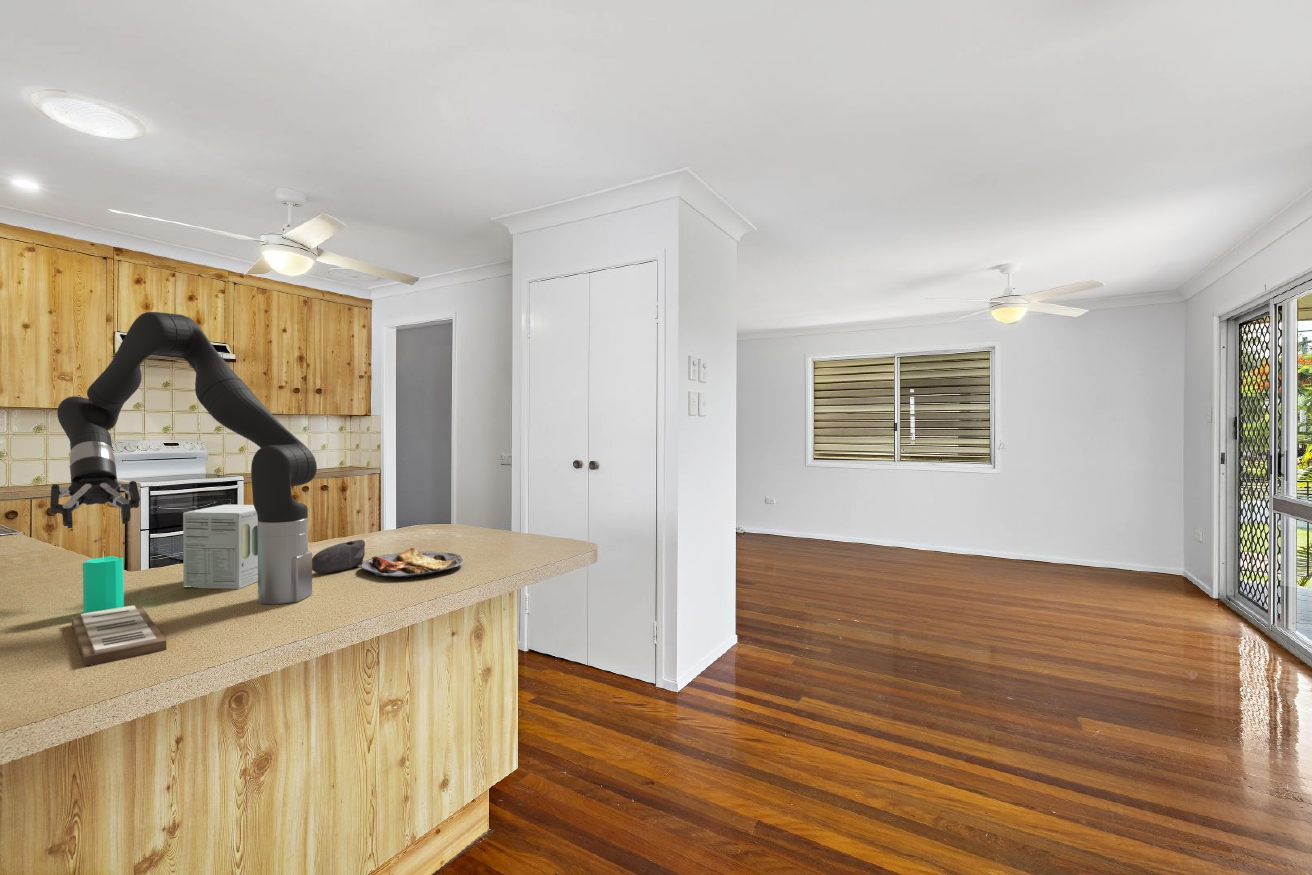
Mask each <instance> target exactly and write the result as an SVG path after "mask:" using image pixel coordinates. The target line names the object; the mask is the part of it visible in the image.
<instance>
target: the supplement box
mask: <svg viewBox="0 0 1312 875" xmlns="http://www.w3.org/2000/svg"><path fill="white" fill-rule="evenodd" d="M182 517H183V518H182V521H183V522H182V528H183V529H182V546H183V547H182V548H183V551H182V552H183V556H182V557H183V562H182V563H183V571H182V572H183V581H182V583H183V587H184V586H191V587H200V588H199V589H218V590H219V589H220V590H221V589H226V590H239V589H243V588H244V587H247V586H250V585H252V584H255V583H258V517H257V512H256V510H255V508H254V504H222V505H221V504H220V505H216V506H211V507H203V508H200V509H195V510H189V511H185V512H183V513H182Z"/></svg>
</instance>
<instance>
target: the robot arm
mask: <svg viewBox="0 0 1312 875" xmlns="http://www.w3.org/2000/svg"><path fill="white" fill-rule="evenodd" d="M154 354H155V355H170V356H171V355H173V356H179V357H181V358H182V359H184V360H185V361H186V362H187V363H188V364H189V365H190V366H191V368H192V369H193V371H194V372H195V383H194V384H195V389H194V392H195V395H196V398H197V399H198V402H199V403H200V404H201V405H202V406H203V408H204V409H205V410H206V411H207V412H208V413H209V414H210V416H211V417H212V418H213V419H214V420H216V422H218V423H219V424H220V425H222V426H224V427H225V428H226V429H228V430H230V431H232V432H234V433H235V434H237V435H239V436H241V437H243V438H245V439H247V440H249V441H251V442H252V443H253V444H255V445H257V446H258V447H259V449H257V450H256V452H255V453H254V455H253V458H252V460H251V466H250V467H251V468H250V469H251V470H250V474H251V475H250V477H251V478H250V479H251V489H252V490H251V492H252V503H253V504H252V505H254V508H255V510H256V512H257V517H258V582H257V598H258V599H257V602H258V603H259V604H263V605H281V604H288V603H298V602H300V601H302V600H304V599H306V598H308V597H310V596H311V595H312V594H313V570H312V558H313V551H309V548H308V546H309V543H308V541H309V537H308V536H309V534H308V533H309V532H308V530H309V528H308V526H309V525H308V524H309V523H308V520H309V517H308V516H309V514H308V506H307V505H306V504H305V503H302V502H299V501H297V500H295V499H294V498H293V494H292V487H297V486H302V485H306V484H308V483H310V482H311V481H312V480H314V478H315V477H316V474H317V472H318V471H317V470H318V466H317V461H316V458H315V455H314V454H313V453H312V451H311V450H310V449H309V448H308V447H307V446H306V444H304V443H303V442H302V441H301V440H299V438H297V437H296V436H295V435H294V434H293V433H291V431H290V430H288V429H287V428H286V427H285V426H284V425H283V424H282V423H281V422H280V421H279V420H278V419H277V418H276V417H275V416H274V414H272V413H271V411H270V410H269V409H268V408H267V407H266V406H265V405H264V404H263V403H262V401H260V399H259V398H258V397H257V396H256V394H255V393H254V392H253V391H252V390H251V389H250V388H249V386H248V385H247V384H246V383H245V382H244V381H243V380H242V379H241V378H240V377H239V376H238V375H237V374H236V373H235V371H234V370H233V369H232V368H231V367H230V365H229V364H228V363H227V362H226V361H225V359H224V358H223V357H222V356H221V355H220V354H219V352H218V351H217V350H216V349H215V347H214V346H213V344H212V343H211V341H210V339H209V338H208V337H207V335H206V334H205V332H204V331H203V330H202V328H201V326H199V325H198V323H197V322H196V321H195V320H194V319H192V318H191V317H189V316H186V315H183V314H177V313H168V312H161V311H159V312H158V311H147V312H144V313H142V314H140V315H138V316H137V318H135V320H134V321H133V323H131V325H130V327H129V328H128V331H127V332H126V334H125V336H124V338H123V340H122V342H121V343H120V345H119V347H118V349H117V351H116V353H115V355H114V356H113V358H112V360H111V361H110V363H109V364H108V365H107V367H106V368H105V370H103V371H102V373H101V374H100V375H98V377H97V378H96V379H95V380H94V381H93V382H92V383H91V385H90V386H89V387H88V389H87V390H86V396H87V397H83V396H76V395H75V396H73V395H72V396H67V397H66V398H64V399H63V400H62V401H61V402H60V403H59V404H58V407H57V412H56V414H57V418H58V420H57V421H58V422H59V424H60V426H61V428H62V429H63V431H64V432H65V434H66V436H67V438H68V440H69V447H70V450H69V451H70V455H69V466H68V467H69V471H70V473H69V474H70V485H69V486H66V487H65V486H64V487H63V486H61V487H60V485H59V484H53V485H51V487H50V488H51V489H50V500H49V502H50V504H49V512H50V514H53V515H55V514H60V515H61V516H62V525H63V527H67V529H73V525H74V524H73V523H74V522H73V512H74V511H75V510H78V509H79V508H81V506H83V505H84V504H85V505H86V506H91V505H95V504H97V505H105V504H106V503H108V504H110V505H111V506H113V507H117V508H118V509H120V514H121V515H120V517H121V518H120V519H121V524H122V525H126V524H127V522H130V520H131V516H132V514H131V509H133V508H134V509H138V508H139V507H140V501H141V497H140V493H139V489H138V488H139V487H138V485H137V483H138V482H136V481H135V480H130V481H129V483H124V484H121V483H120V482H119V481H118V475H117V467H116V466H117V465H116V456H115V454H114V451H113V443H112V436H111V433H110V432H109V431H110V430H111V429H114V427H116V424H117V423H118V420H119V416H120V413H121V410H122V409H123V407H124V405H125V403H126V402H127V401H128V400H129V399H130V398H131V397H132V395H134V394H135V393H136V392H137V390H138V389H139V387H140V386H141V383H142V380H143V379H142V378H143V377H142V376H143V375H142V369H141V364H142V363H143V362H144V361H145V360H146V359H148V358H149V357H150V356H152V355H154ZM121 491H124V493H126V494H127V495H129V498H130V499H127V498H125V497H124V496H123V495H122V494H121V493H120V492H121ZM66 494H68V495H70V498H69V499H68V500H67V501H66V502H65V503H63V504H61V503H60V502H59V501H60V499H62V498H63V497H65V495H66Z"/></svg>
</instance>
